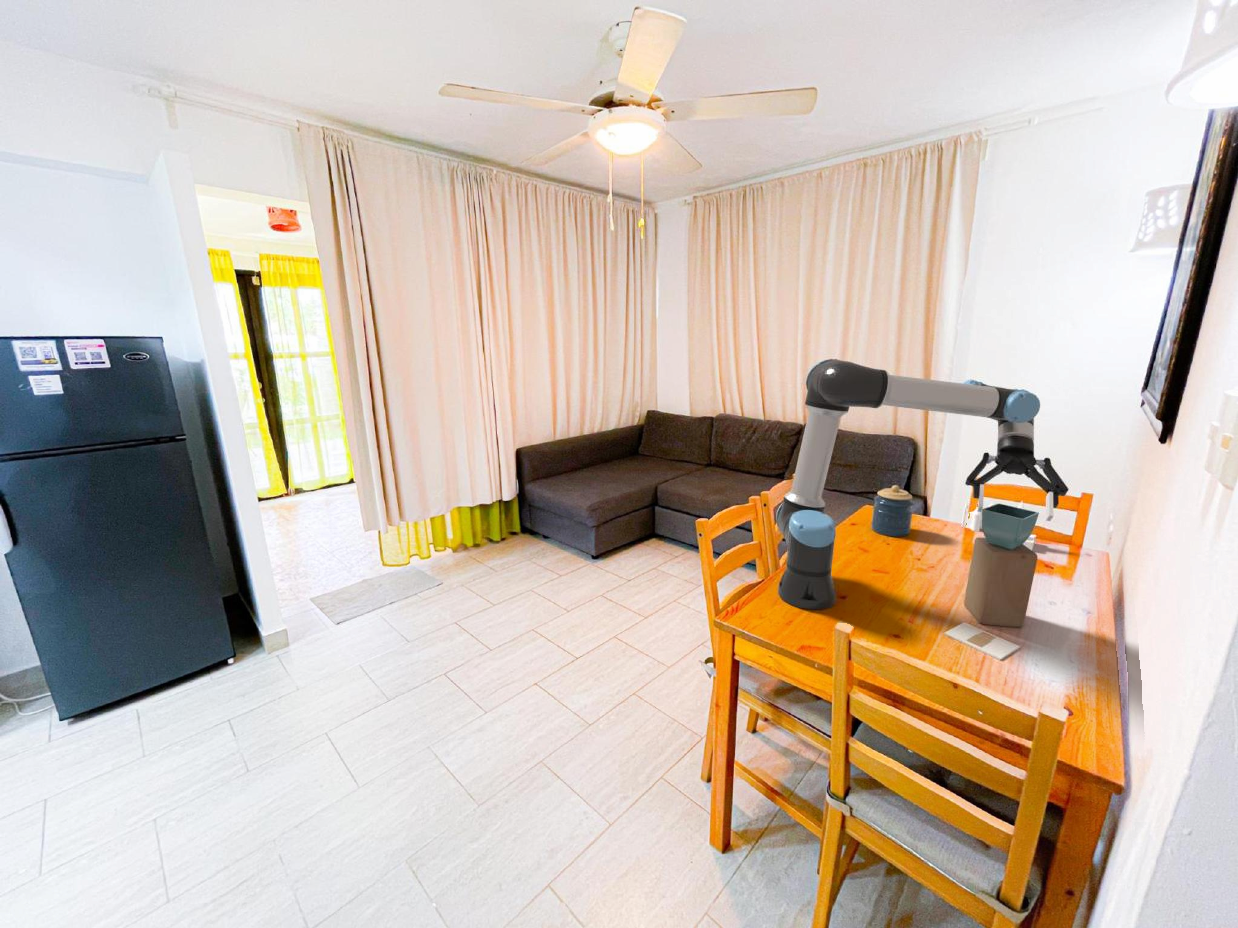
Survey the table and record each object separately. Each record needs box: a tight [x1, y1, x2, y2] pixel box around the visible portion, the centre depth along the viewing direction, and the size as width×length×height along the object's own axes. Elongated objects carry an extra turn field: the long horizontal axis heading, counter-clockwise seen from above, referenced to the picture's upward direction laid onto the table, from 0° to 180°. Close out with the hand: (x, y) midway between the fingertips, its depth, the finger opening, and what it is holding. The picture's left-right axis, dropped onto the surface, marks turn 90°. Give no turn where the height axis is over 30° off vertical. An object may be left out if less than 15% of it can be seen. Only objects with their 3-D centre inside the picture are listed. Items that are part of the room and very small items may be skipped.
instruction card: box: [944, 622, 1021, 661], centre depth 120 cm, size 12×9×1 cm
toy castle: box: [961, 501, 1037, 551], centre depth 180 cm, size 14×25×16 cm, turn 26°
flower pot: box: [981, 503, 1040, 550], centre depth 124 cm, size 9×9×9 cm
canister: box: [870, 484, 915, 538], centre depth 186 cm, size 13×13×18 cm
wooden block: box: [963, 536, 1039, 628], centre depth 128 cm, size 10×10×20 cm
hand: (1014, 513), depth 123 cm, fingers open, 13 cm apart
